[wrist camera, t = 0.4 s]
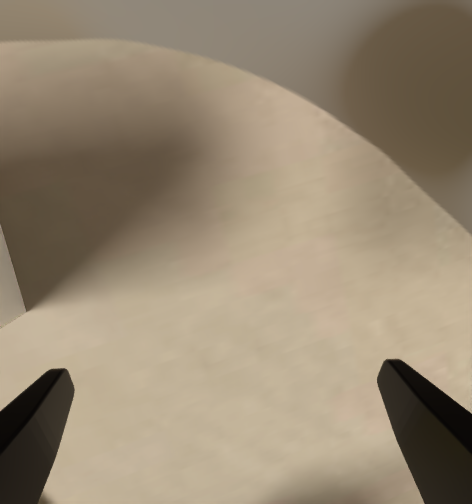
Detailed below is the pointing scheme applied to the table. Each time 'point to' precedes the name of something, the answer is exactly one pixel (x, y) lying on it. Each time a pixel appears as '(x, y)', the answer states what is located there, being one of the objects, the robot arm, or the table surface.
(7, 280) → the milk
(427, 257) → the table surface
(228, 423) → the table surface
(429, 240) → the table surface
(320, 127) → the table surface
